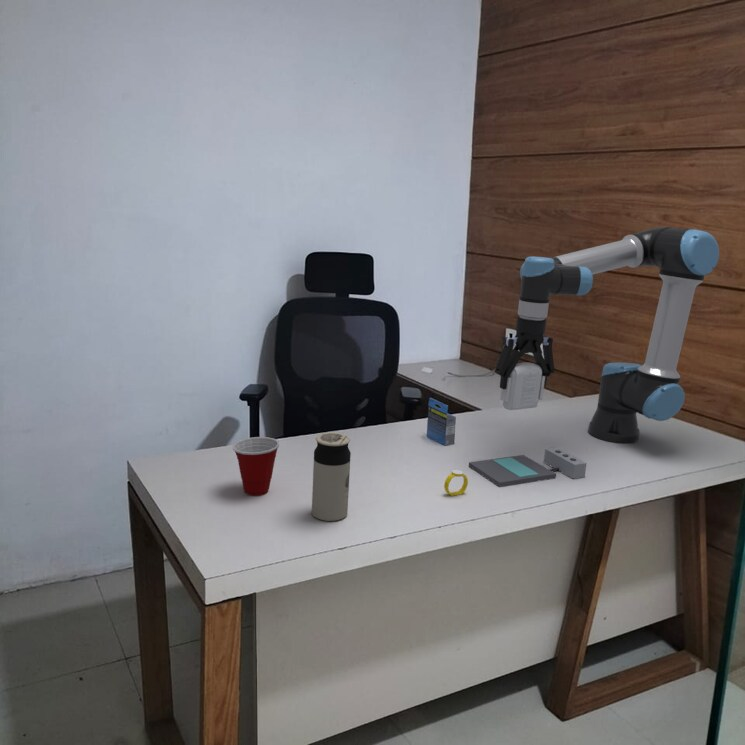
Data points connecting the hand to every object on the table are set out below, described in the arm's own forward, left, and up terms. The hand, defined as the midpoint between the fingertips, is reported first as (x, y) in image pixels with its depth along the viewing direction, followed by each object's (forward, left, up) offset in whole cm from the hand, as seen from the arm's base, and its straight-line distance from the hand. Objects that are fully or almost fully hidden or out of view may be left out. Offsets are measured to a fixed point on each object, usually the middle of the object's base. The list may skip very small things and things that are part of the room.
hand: (521, 399), depth 189 cm
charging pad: (+4, +5, -18) cm, 20 cm away
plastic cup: (+71, -5, -19) cm, 74 cm away
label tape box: (+10, -22, -19) cm, 31 cm away
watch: (+26, +12, -19) cm, 34 cm away
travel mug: (+59, +12, -19) cm, 63 cm away
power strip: (-9, +7, -18) cm, 22 cm away
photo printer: (0, 0, -2) cm, 2 cm away
